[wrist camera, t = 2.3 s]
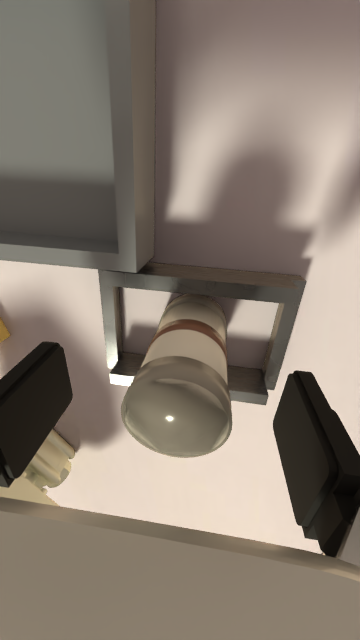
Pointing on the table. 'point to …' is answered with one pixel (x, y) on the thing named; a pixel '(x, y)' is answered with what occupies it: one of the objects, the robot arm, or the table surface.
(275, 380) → the dark grey rectangular frame
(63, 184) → the parts tray
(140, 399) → the grey cream domed cylinder
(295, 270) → the table surface
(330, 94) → the table surface
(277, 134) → the table surface
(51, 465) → the pneumatic valve
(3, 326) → the yellow and grey bar
